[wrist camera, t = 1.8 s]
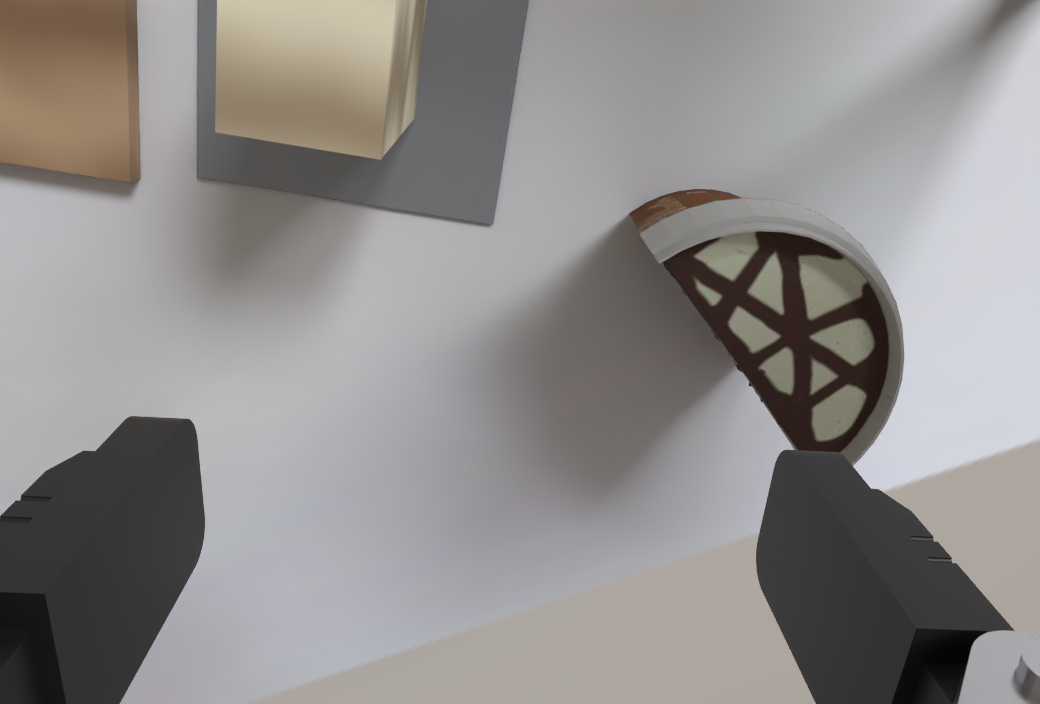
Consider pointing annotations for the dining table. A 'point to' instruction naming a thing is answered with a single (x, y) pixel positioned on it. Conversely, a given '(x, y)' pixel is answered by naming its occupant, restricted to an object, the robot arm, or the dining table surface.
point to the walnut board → (70, 86)
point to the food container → (787, 310)
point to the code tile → (424, 143)
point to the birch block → (319, 71)
